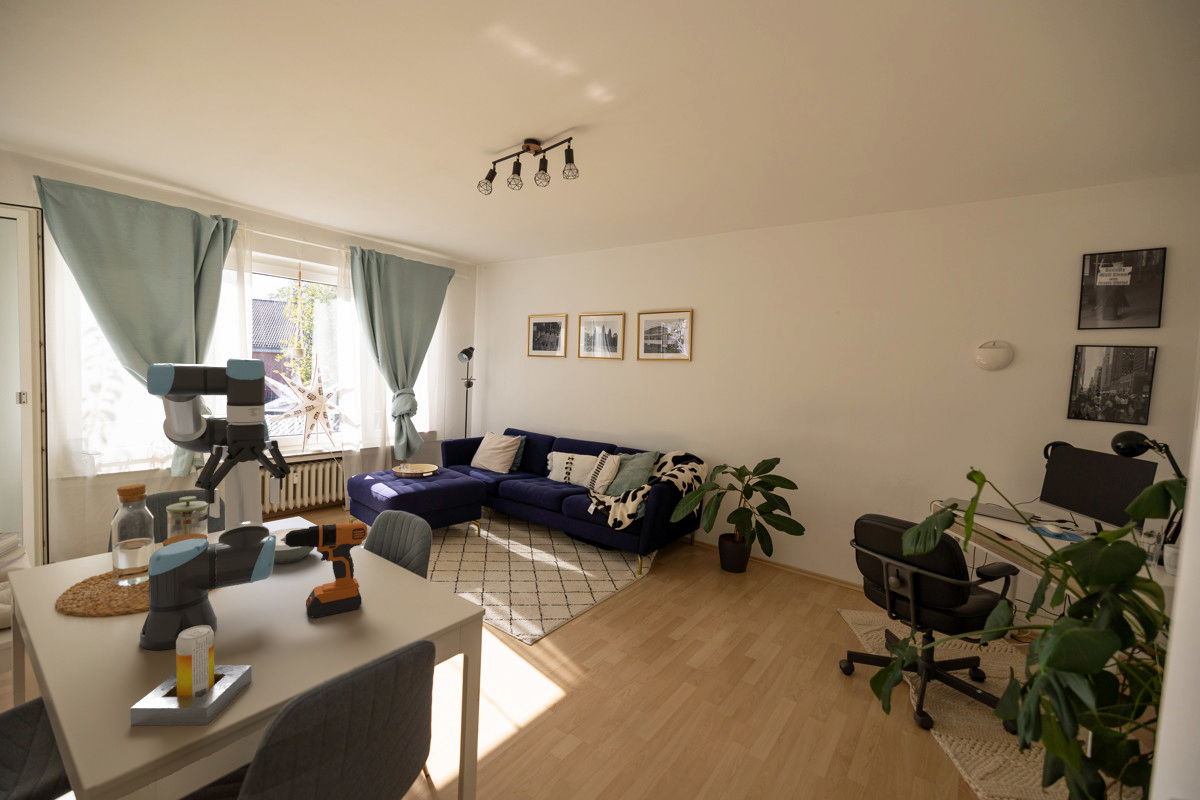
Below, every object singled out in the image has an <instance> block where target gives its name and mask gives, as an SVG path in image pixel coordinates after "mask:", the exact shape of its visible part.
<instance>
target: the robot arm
mask: <svg viewBox="0 0 1200 800" xmlns="http://www.w3.org/2000/svg"><path fill="white" fill-rule="evenodd" d="M265 367H266V366H265V362H264V361H263V360H262V359H258V358H242V357H241V358H236V357H235V358H233V357H232V358H229V359H228V360H226V364H222V365H221V364H197V363H196V364H194V363H191V364H189V363H171V362H166V363H150V364H149V365H148V366H147V369H146V371H147V372H146V388H147V389H146V390H147V392H148V394H149V395H152V396H160V397H161V399H162V403H163V404H162V405H163V409H164V413H165V415H164V416H165V419H164V421H163V423H162V425H163V426H162V428H163V433H164V435H165V436H166V438H167V439H168V440H169V442H171V443H172V444H173V445H175V446H177V447H179V448H181V449H183V450H185V451H190V452H192V453H196V454H198V453H199V454H210V456H209V457H208V459H207V461H206V463H205V465H204V466H203V469H202V470H201V472H200V474H199V476H198V477H197V480H196V481H195V484H194V486H195V487H196V488H198V489H202V490H204V492H205V493H204V494H205V496H204V497H205V498H204V499H205V500H204V501H205V503H206V504H209V517H212V518H215V519H218V518H221V515H220V511H221V509H220V508H221V507H220V505H221V503H220V502H221V501H220V499H221V495H220V492H221V491H220V488H217V487H218V486H219V484H221V482H222V481H223V479H224V528H225V529H224V531H223V532H222V533H221V534H220V535H219V536H218V542H217V543H210V542H209V541H208V540H207V539H206V538H203V537H202V538H201V537H200V538H188V539H183V540H180V541H176V542H173V543H170V544H167V545H165V546H163V547H161V548H159V549H157V550H156V551H154V552H153V553H152V554H151V555H150V557H149V560H148V570H147V575H148V605H149V606H148V614H147V615H146V618H145V621H144V623H143V626H142V627H141V631H140V635H139V644H140V646H141V647H142V648H143V649H145V650H151V651H161V650H170V649H176V640H177V638H178V637H179V634H180V633H181V632H182V631H184V630H186V629H188V628H191V627H194V626H200V625H208V626H210V627H211V629H212V630H213V632H215V630H216V629H217V627H218V619H217V618H218V617H217V614H216V613H215V611H214V608H213V607H212V603H211V601H210V599H209V591H210V590H217V589H223V588H228V587H233V586H239V585H244V584H253V583H254V582H259V581H263V580H267V579H268V578H270V577H271V576H272V574H273V569H274V563H275V561H274V555H275V546H276V536H275V535H270V534H269V533H270V529H269V528H268V527H266V526H265V525H263V509H262V494H261V492H262V491H261V489H262V488H261V473H260V464H261V465H262V466H263V467H264V468H265V469H266V470H267V471H268V472H269V473H270V474H271V475H272V476H273V477H270V478H269V503H270V504H273V505H280V504H281V503H280V496H281V495H280V491H282V490H283V487H284V485H283V484H284V483H283V482H284V480H283V479H285V478H286V475H290V474H291V469H290V467H289V464H288V463H287V461H286V460H285V458H284V456H283V454H282V452H281V451H280V448H279V441H278V440H275V439H270V434H269V428H268V424H267V420H266V418H265V416H266V414H265V412H266V411H265V408H266V406H265V397H266V396H265V395H266V394H265V392H266V391H265V388H266V387H265V385H266V379H265V378H266V370H265V369H266V368H265ZM201 396H226V414H202V404H201ZM266 450H267V451H269V454H270V456H271V457H272V459H273V461H274V463H275V464H274V463H273V462H272V461H271V460H270V459H269V458H268V456H267V455H266V454H265V451H266ZM221 461H222V463H221V464H220V462H221ZM219 464H220V466H219ZM218 466H219V467H218Z"/></svg>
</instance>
